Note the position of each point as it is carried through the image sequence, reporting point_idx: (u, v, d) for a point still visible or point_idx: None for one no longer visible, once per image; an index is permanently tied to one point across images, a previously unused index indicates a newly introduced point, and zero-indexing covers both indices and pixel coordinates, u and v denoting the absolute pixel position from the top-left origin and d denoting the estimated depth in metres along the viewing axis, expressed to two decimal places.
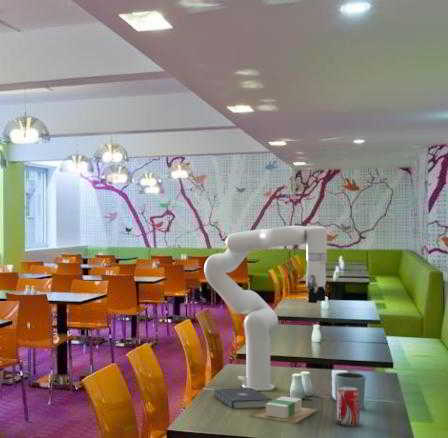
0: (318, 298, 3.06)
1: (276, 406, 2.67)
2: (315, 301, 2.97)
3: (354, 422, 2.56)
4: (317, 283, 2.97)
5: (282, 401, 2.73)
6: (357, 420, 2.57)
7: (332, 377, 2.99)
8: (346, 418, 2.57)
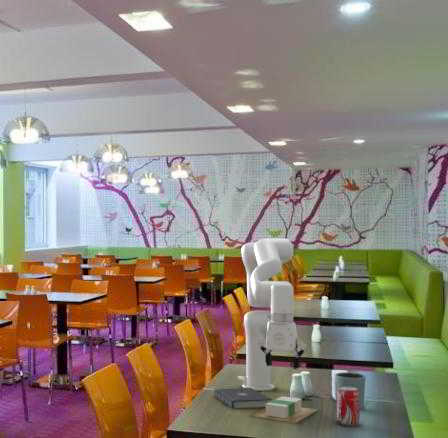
0: (269, 363, 2.74)
1: (276, 406, 2.67)
2: None
3: (354, 422, 2.56)
4: None
5: (282, 401, 2.73)
6: (357, 420, 2.57)
7: (332, 377, 2.99)
8: (346, 418, 2.57)
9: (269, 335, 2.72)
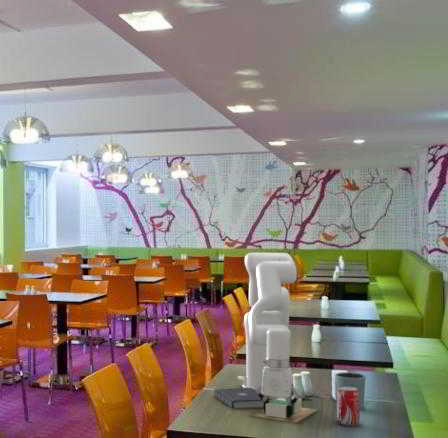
0: None
1: (276, 406, 2.67)
2: None
3: (354, 422, 2.56)
4: None
5: (282, 401, 2.73)
6: (357, 420, 2.57)
7: (332, 377, 2.99)
8: (346, 418, 2.57)
9: (265, 381, 2.69)
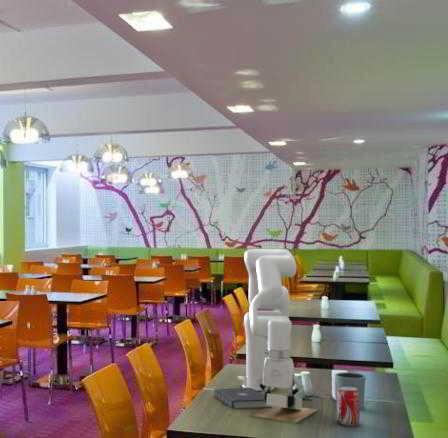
0: None
1: (277, 395, 2.68)
2: (292, 404, 2.68)
3: (354, 422, 2.56)
4: None
5: None
6: (357, 420, 2.57)
7: (332, 377, 2.99)
8: (346, 418, 2.57)
9: (266, 371, 2.70)
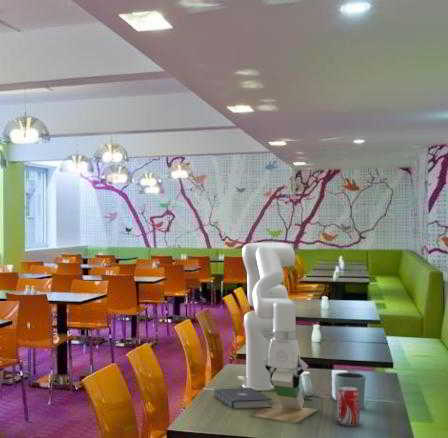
0: None
1: (284, 372, 2.73)
2: None
3: (354, 422, 2.56)
4: None
5: None
6: (357, 420, 2.57)
7: (332, 377, 2.99)
8: (346, 418, 2.57)
9: (271, 352, 2.74)
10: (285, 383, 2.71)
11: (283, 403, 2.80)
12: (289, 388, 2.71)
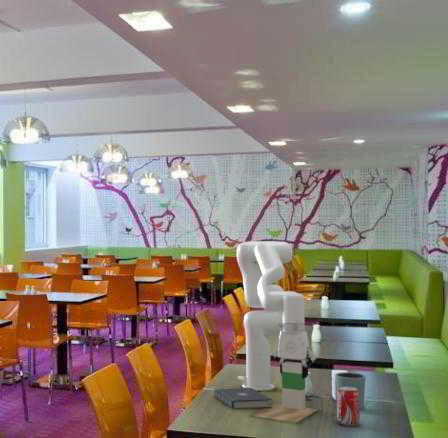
0: None
1: None
2: (306, 375, 2.80)
3: (354, 422, 2.56)
4: None
5: None
6: (357, 420, 2.57)
7: (332, 377, 2.99)
8: (346, 418, 2.57)
9: (281, 344, 2.82)
10: (295, 367, 2.78)
11: (285, 400, 2.81)
12: (297, 374, 2.78)
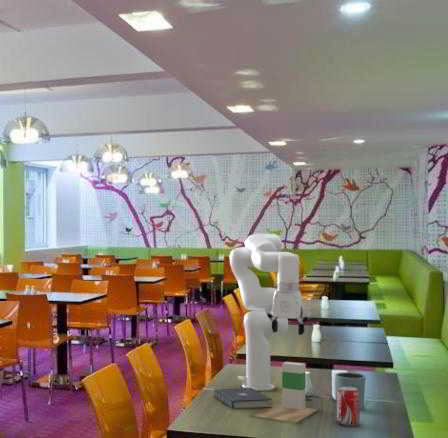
0: (275, 329, 2.89)
1: None
2: (302, 332, 2.84)
3: (354, 422, 2.56)
4: None
5: None
6: (357, 420, 2.57)
7: (332, 377, 2.99)
8: (346, 418, 2.57)
9: (275, 303, 2.86)
10: (295, 367, 2.79)
11: (285, 400, 2.81)
12: (298, 374, 2.78)
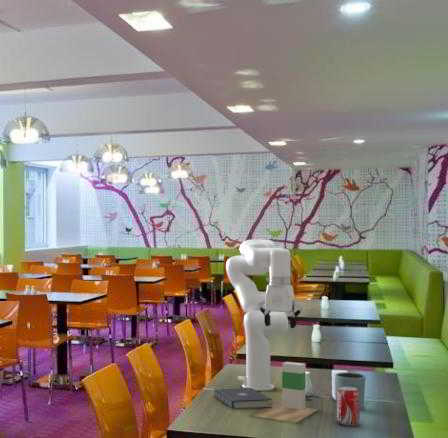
0: (268, 323, 2.94)
1: None
2: (294, 326, 2.90)
3: (354, 422, 2.56)
4: None
5: None
6: (357, 420, 2.57)
7: (332, 377, 2.99)
8: (346, 418, 2.57)
9: (268, 297, 2.92)
10: (295, 367, 2.79)
11: (285, 400, 2.81)
12: (298, 374, 2.78)
